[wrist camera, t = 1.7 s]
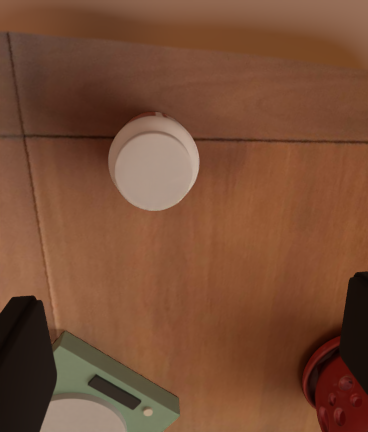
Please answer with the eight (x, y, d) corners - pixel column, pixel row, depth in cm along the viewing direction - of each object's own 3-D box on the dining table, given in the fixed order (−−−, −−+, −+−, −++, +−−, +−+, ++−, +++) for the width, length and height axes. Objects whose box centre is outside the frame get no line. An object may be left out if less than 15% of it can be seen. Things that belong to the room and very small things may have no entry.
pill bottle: (117, 177, 31) (97, 218, 20) (121, 107, 29) (101, 112, 18) (184, 184, 31) (198, 227, 21) (192, 115, 29) (213, 125, 19)
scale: (-16, 420, 39) (-30, 447, 36) (65, 330, 36) (56, 351, 33) (98, 474, 43) (93, 502, 40) (178, 397, 40) (180, 422, 37)
